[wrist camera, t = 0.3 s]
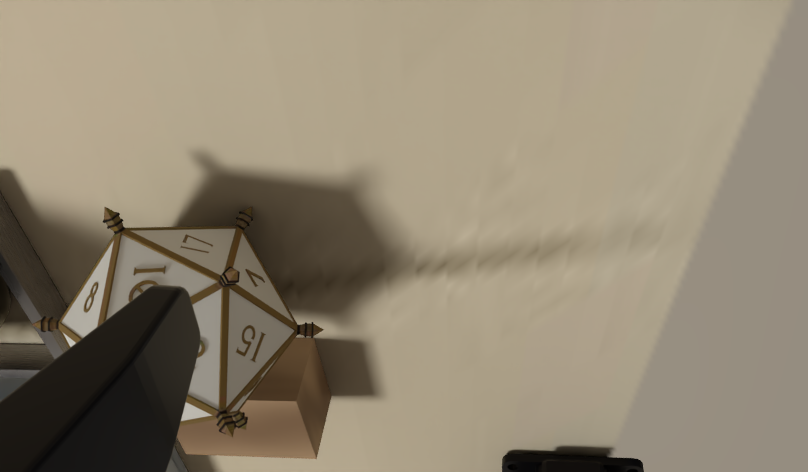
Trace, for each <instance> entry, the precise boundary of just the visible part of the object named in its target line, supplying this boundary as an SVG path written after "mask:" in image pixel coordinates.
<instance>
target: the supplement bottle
mask: <svg viewBox="0 0 808 472" xmlns="http://www.w3.org/2000/svg"><path fill="white" fill-rule="evenodd" d="M9 309H10V293H9V289H8V286H7V284H6V282H5V281H4V279H3V277H2V276H1V274H0V327H1V326H2V324H3V323H4V321H5V319H6V317H7V315H8V313H9Z"/></svg>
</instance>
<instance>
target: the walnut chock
mask: <svg viewBox="0 0 808 472" xmlns="http://www.w3.org/2000/svg"><path fill="white" fill-rule="evenodd" d="M330 400H331V393H330V390H329V386H328V383H327V380H326V376H325V373H324V370H323V366H322V363H321V360H320V356H319V353H318V350H317V346H316V343H315V340H314V338H294V340H293V341H292V342H291V344H290V345H289V346H288V348H287V349H286V350H285V352H284V353H283V354H282V355H281V357H280V358H279V359H278V361H277V362H276V363H275V365H274V366H273V367H272V369H271V370H270V371H269V373H268V374H267V375H266V376H265V378H264V379H263V380H262V382H261V383H260V384H259V386H258V387H257V388H256V390H255V391H254V392H253V394H252V395H251V396H250V398H249V399H248V400H247V401H246V403H245V404H244V405H243V407H242V408H241V409H240V411H241V412H242V413H243V412H244V413H245V417H248V420H247V425H246V430H244V429H242V428H239V429H238V428H237V427H236V429H234V434H233V437H231V436H229V435H227V434H224V433H221V432H219V429H220V428H219V426H217V425H216V424H217V423H218V419H216V420H211V421H205V422H200V423H194V424H189V425H183V426H180V427H179V431H178V435H177V438H178V440H179V442H180V444H181V446H182V447H183V449H184V451H185V453H186V454H197V455H225V456H252V457H280V458H308V459H317V454H318V450H319V446H320V442H321V438H322V433H323V429H324V425H325V421H326V417H327V412H328V408H329V404H330Z"/></svg>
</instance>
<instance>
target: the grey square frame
mask: <svg viewBox="0 0 808 472" xmlns="http://www.w3.org/2000/svg"><path fill="white" fill-rule="evenodd" d="M0 274H1V276H2V277H3V279H4V281H5V282H6V284H7V285H8V287H9V288H10V290H11V291H12V293H13V295H14V296H15V298H16V299H17V301H18V302H19V304H20V306H21V307H22V309H23V310H24V312H25V313H26V315H27V317H28V318H29V320H30V321H31V323H32V324H33V323H35V322H37V321H39V320H41V319H42V318H43V317H44V316H46V318H50V317H53V318H54V319H57V320H60V319H61V318H62V316H63V315H64V313H65V312H66V310H67V306H66V304H65V303H64V301H63V299H62V298H61V296H60V294H59V292H58V291H57V289H56V287H55V286H54V284H53V282H52V280H51V279H50V277H49V275H48V274H47V272H46V270H45V268H44V267H43V265H42V263H41V262H40V260H39V258H38V256H37V255H36V253H35V251H34V250H33V248H32V246H31V244H30V243H29V241H28V239H27V238H26V236H25V234H24V232H23V231H22V229H21V227H20V226H19V224H18V222H17V220H16V219H15V217H14V215H13V214H12V212H11V210H10V208H9V207H8V205H7V203H6V202H5V200H4V198H3V196H2V195H1V193H0ZM34 327H35V326H34ZM35 329H36V331H37V332H38V334H39V335H40V337H41V338H42V340H43V342H44V343H45V345H32V344H0V378H31V377H32V376H34V375H35V374H36V373H38V372H39V371H40V370H42V369H43V368H44V367H45V366H47V365H48V364H49V363H51V362H52V361H53V360H55V359H56V358H57V357H58V356H60V355H61V354H62V353H64V352H65V351H66V350H68V349H69V348H68V346H67V344H66V342H65V340H64V338H63V337H62V335H61V333H60V331H59V330H58V329H57V330H53V332H49V331H46V332H41V330H40V329H38V328H37V327H35Z"/></svg>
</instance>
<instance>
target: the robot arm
mask: <svg viewBox="0 0 808 472" xmlns="http://www.w3.org/2000/svg"><path fill="white" fill-rule="evenodd" d="M200 338H201V336H200V329H199V325H198V322H197V319H196V315H195V312H194V309H193V305H192V302H191V299H190V296H189V293H188V291H187V290H186V289H185V288H184V287H181V286H170V285H153V286H151V287H149V288H147V289H146V290H145V291H143V292H142V293H141V294H139V295H138V296H137V297H135V298H134V299H133V300H132V301H130V302H129V303H128V304H126V305H125V306H124V307H122V308H121V309H120V310H118V311H117V312H116V313H115V314H113V315H112V316H111V317H109V318H108V319H107V320H105V321H104V322H103V323H102V324H100V325H99V326H98V327H96V328H95V329H94V330H92V331H91V332H90V333H88V334H87V335H86V336H85V337H83V338H82V339H81V340H79V341H78V342H77V343H75V344H74V345H73V346H72V347H70V348H69V349H68V350H66V351H65V352H64V353H62V354H61V355H60V356H58V357H57V358H56V359H55V360H53V361H52V362H51V363H49V364H48V365H47V366H45V367H44V368H43V369H42V370H40V371H39V372H38V373H36V374H35V375H34V376H32V377H31V378H30V379H29V380H27V381H26V382H25V383H23V384H22V385H21V386H19V387H18V388H17V389H15V390H14V391H13V392H12V393H10V394H9V395H8V396H6V397H5V398H4V399H2V400H1V401H0V472H166V470H167V468H168V465H169V462H170V459H171V456H172V453H173V449H174V446H175V442H176V439H177V435H178V431H179V427H180V423H181V419H182V415H183V411H184V407H185V403H186V399H187V395H188V392H189V388H190V384H191V380H192V376H193V372H194V368H195V364H196V360H197V356H198V352H199V348H200ZM502 472H644V470H643V463H642V462H641V461H640V460H638V459H634V458H611V457H584V456H557V455H530V454H508V455H505V456H504V457H503V459H502Z"/></svg>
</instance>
